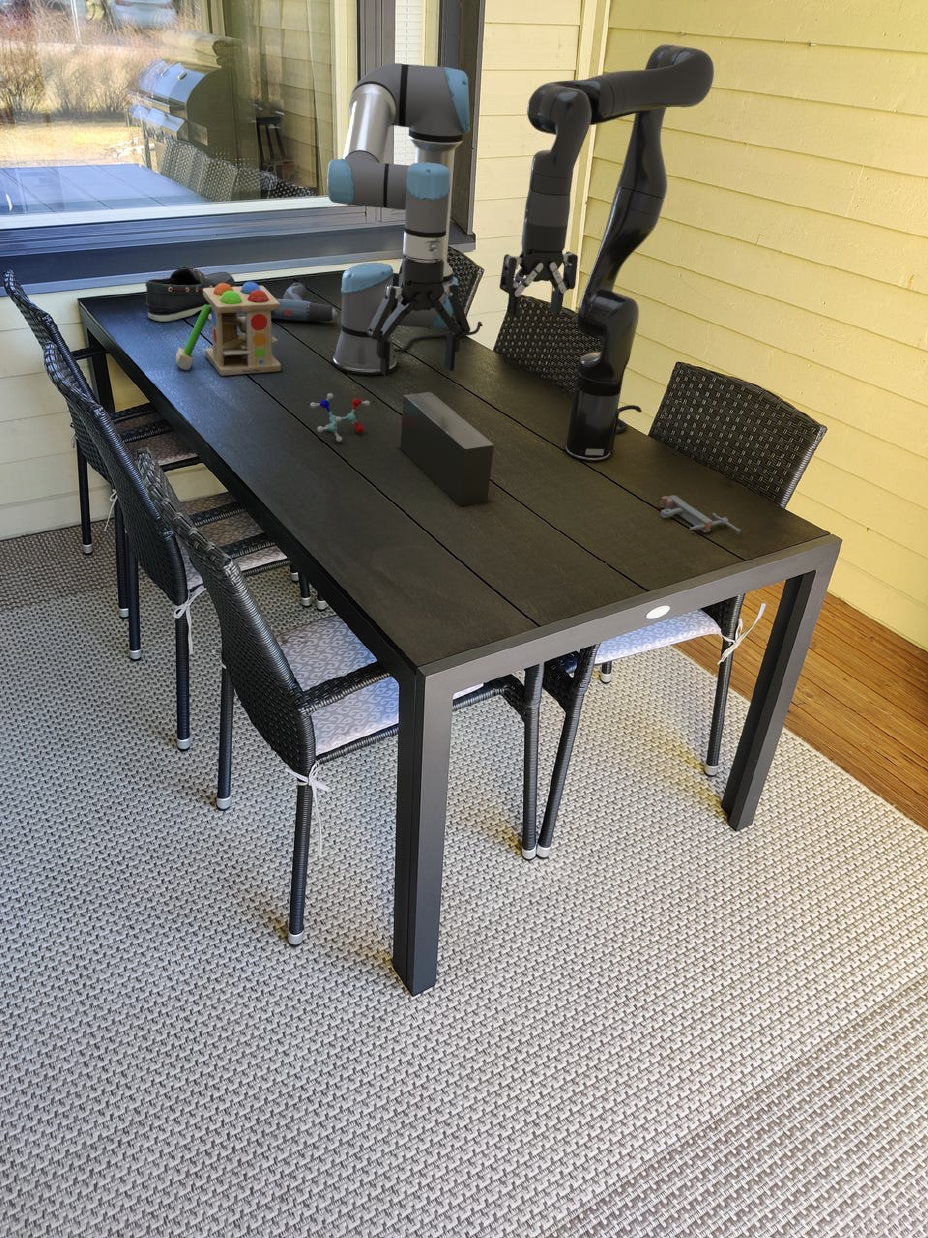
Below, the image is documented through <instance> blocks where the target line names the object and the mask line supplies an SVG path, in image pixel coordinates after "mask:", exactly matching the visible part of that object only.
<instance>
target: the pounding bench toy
mask: <svg viewBox="0 0 928 1238" xmlns="http://www.w3.org/2000/svg"><path fill="white" fill-rule="evenodd" d="M203 296H204V297H205V299H206V300H207V301H208V302H209V304H210V305H211V307H210V306H208V305H204V307H203V309H202V310H200V311H201V312H200V313H199V316H198V318H197V320H196V322H195V324H194V327H193V329H192V331H191V332H190V333H191V334H190V336H189V338H188V340H187V343H186V344H185V347H184V348H182V347H180V346H179V347H178V349H177V351H176V354H175V357H174V358H175V362H176V365H177V366H178V368H179V369H182V370H185V371H189V370H190V369H191V367H192V365H193V363H194V356H193V351H194V348H195V347H196V345H197V342H198V340H199V337H200V336H201V333H202V332H203V329H204V326H205V325H206V322H207V320H209V321H210V322H211V336H212V337H211V338H212V339H211V340H212V348H205V349H204V352H205V353H204V355H205V357H206V359H208V361H209V363H210V364H211V365H212V366H213V367H214V369H215V370H216V371H217V372H218V374H219V375H220V376H222V377H223V376H234V375H235V376H236V375H246V374H247V375H250V374H262V373H275V372H281V370H282V364H281V363H280V362H279V360H278V359H277V358H276V357H275V356H274V355H273V348H272V347H273V345H272V344H276V343H278V342H279V341H278V339H277V338H276V337H275V336H274V334H272V318H271V310H280V303H279V302H278V301H277V300H276V299H277V298H276V297H274V296H273V295H272V294H271V293H270V292H269V290H268V289H267V288H266V287H264V285H259V284H257V283H256V282H255V281H247V282H245V283H244V284H243V285H242V286H236V287H231V286H230V285H228V284H226V283H221V284H218V285H217V286H216V287H215V288H204V289H203ZM238 313H244V314H245V315H244V316H238ZM238 329H239V331H240V333H239V334H238Z"/></svg>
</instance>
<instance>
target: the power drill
mask: <svg viewBox="0 0 928 1238" xmlns="http://www.w3.org/2000/svg"><path fill="white" fill-rule="evenodd" d="M307 295H308V290H307V287H306V285H304V284H303V283H301V282H293V283H292V284H291V285H290V286H289V287H288V288H287V289H286V291H285V292H284V294H283V297H282V298H275V299H276V300H277V301H278V302H279V303H280V310H271V319H274V320H275V319H276V320H283V321H294V322H295V321H297V322H332V321H333V320H334V319H336V318H337V317H338V312H337V311H336V308H334V307H333V306H332V305H331V304H324V303H317V302H313V301H307V300H305V299H306V297H307Z"/></svg>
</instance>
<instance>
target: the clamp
mask: <svg viewBox="0 0 928 1238" xmlns="http://www.w3.org/2000/svg"><path fill="white" fill-rule="evenodd" d="M659 507H660V508H663V509H661V510H660V516H661V517H662V518H664V519H666V518H671V517H673V516H674V515H678V516H680V517H681V518H682V519H684V520H686V522H688V523H689V524H691V525H692V527H689V531H699V530H700V532H703V533H708V532H711V527H715V526H718V525H719V526H725V525H726V526H727V527H729V528H730V529H732V530H733V531H735V532H736V534H740V533H741V532H742V529H741V528H738V527H736V526H734V525H733V524H731V523H730V522H729V519H728V517H720V516H719V515H717V513H716V512H712V513H711V518H715V519H716V520H714V521H713V520H712V519H711V518H709V517H708V516H706V515H705V514H703V513H702V512H700V511H699V510H697V509H696V508H694V507H693V506H692V505H690V504H688V502H686V501H684V500H682V498H681V497H680V498H679V496H677V495H676V494H675V495H669V496H667V495H666V496H662V497H661V502H660V506H659Z"/></svg>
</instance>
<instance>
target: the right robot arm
mask: <svg viewBox="0 0 928 1238" xmlns="http://www.w3.org/2000/svg"><path fill="white" fill-rule="evenodd" d="M714 76H715V66H714V62H713V60H712V57H711V56H710V55H709V54H708V53H707V52H706V51H704V50H702V49H699V48H695V47H688V46H681V45H676V44H660V45H659V46H657V47H655V48H654V49H653V51H652V52H651V53H650V55H649V57H648V59H647V61H646V64H645V67H644V69H633V70H618V71H611V72H607V73H603V74H599V75H595V76H591V77H589V78H585V79H580V80H579V79H574V80H559V81H550V82H547V83H544V84H542V85H540V86H539V87H537V88H536V89H535V90H534V91H533V93H532V94H531V96H530V97H529V99H528V102H527V107H526V115H527V119H528V121H529V123H530V125H531V126H532V128H534V129H535V130H536V131H538V132H541V133H544V134H549V135H553V136H555V139H554V140H553V144H552V146H551V148H550V149H543V150H539V151H537V152H536V153H535V154H534V155H533V157H532V161H531V165H530V166H531V167H530V173H529V175H530V176H529V184H528V192H527V196H526V200H525V206H524V214H523V224H522V233H521V244H520V245H521V251H520V254H519V256H517V255H516V256H515V255H514V256H513V255H511V254H508V253H506V254H505V255H504V256H503V260H502V261H503V262H502V267H501V273H500V280H499V289H500V290H501V291H503V292H505V293H506V294H508V300H507V307H506V308H507V312H508V313H509V315H510V316H511V317H512V318H515V319H516V318H519V317H520V308H521V300H522V298H521V297H522V296H521V295H522V293H523V292H524V291H525V289H527V288H528V287H529V286H530V285H531V284H532V283H539V282H541V281H543V282H550V284H551V286H552V287H553V290H551V297H550V305H549V312H550V313H551V314H553V315H559V314H560V312H561V311H562V309H563V304H564V297H565V293H566V292H567V291H569V290H574V289H575V288H576V285H577V284H576V282H577V273H578V263H579V256H578V255H577V254H575V253H574V252H571V251H570V250H569V251H568V250H567V251H566V252H565V253H563V251H564V250H565V248H566V240H567V233H568V226H569V218H570V211H571V192H572V187H573V178H574V169H575V166H576V164H577V161H578V158H579V156H580V153H581V150H582V148H583V145H584V142H585V140H586V137H587V135H588V132H589V130H590V126H596V125H600V124H604V123H607V122H612V121H614V120H617V119H620V118H623V117H628V116H631V115H634V119H633V124H632V129H631V133H630V138H629V142H628V145H627V148H626V153H625V157H624V160H623V164H622V168H621V172H620V175H619V177H618V182H617V184H616V188H615V191H614V193H613V194H614V196H613V198H612V203H611V206H610V210H609V214H608V218H607V222H606V225H605V229H604V233H603V235H602V238H601V241H600V245H599V249H598V252H597V255H596V258H595V261H594V264H593V267H592V270H591V272H590V275H589V278H588V280H587V282H586V285H585V288H584V290H583V294H582V295H581V299H580V303H579V306H578V310H577V315H576V317H577V318H576V325H577V328H578V330H579V332H580V333H582V334H583V335H586V336H588V337H590V338H593V339H597V340H599V341H602V342H603V345H602V348H601V351H597V352H590V353H585V354H584V355H582V356H581V357H580V358H579V361H578V366H577V373H576V380H575V386H574V393H573V399H572V406H571V411H570V412H571V413H570V419H569V426H568V432H567V438H566V444H565V448H564V450H565V452H566V454H567V455H569V456H570V457H572V458H574V459H577V460H580V461H585V462H601V461H602V462H603V461H606V460H607V459H609V458H610V455H611V454H612V453H613V449H614V444H615V440H616V434H617V435H618V434H622V433H623V432H625V431H626V430H627V429H628V425H627V423H626V421H624V420H622V419H621V418H619V417H620V413H622V412H625V411H628V410H629V411H630V410H634V411H636V412H637V413H642V409H641V408H640V406H638V405H633V404H628V405H624V406H621V407H619V405H620V404H619V403H620V399H621V398H620V397H621V392H622V388H623V387H622V386H623V382H624V376H625V371H626V368H627V366H628V364H629V361H630V358H631V355H632V349H633V346H634V341H635V338H636V337H635V336H636V332H637V329H638V324H639V318H640V307H639V304H638V302H637V301H636V300H635V298H632V297H630V296H628V295H626V294H625V295H624V294H622V293H618V292H616V291H614V287H615V284H616V282H617V279H618V276H619V274H620V272H621V269H622V267H623V266H624V264H625V263H626V261H627V260H628V259H629V258H630V257H631V256H632V255H633V253H634V252H635V251H636V250H637V249H638V248H639V247H640V246H642V245H643V243H644V242H646V240H647V239H648V238H649V237H650V235H651V234H652V233H653V232H654V230H655V229H656V227H657V225H658V222H659V219H660V216H661V213H662V210H663V207H664V204H665V199H666V195H667V193H668V176H667V169H666V164H665V159H664V153H663V148H662V129H663V124H664V120H665V119H664V118H665V115H666V111H667V109H668V108H692V107H696V106H697V105H699V104H700V103H702V102H703V101H704V100H705V98H706V97H708V95H709V92H710V91H711V88H712V86H713V82H714ZM562 265H563V271H562V275H561V273H560V271H559V269H560V268H561V266H562ZM519 267H520V268H519ZM516 270H518V271H517V272H516ZM618 425H620V426H622V427H620V428H617V427H618Z"/></svg>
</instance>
